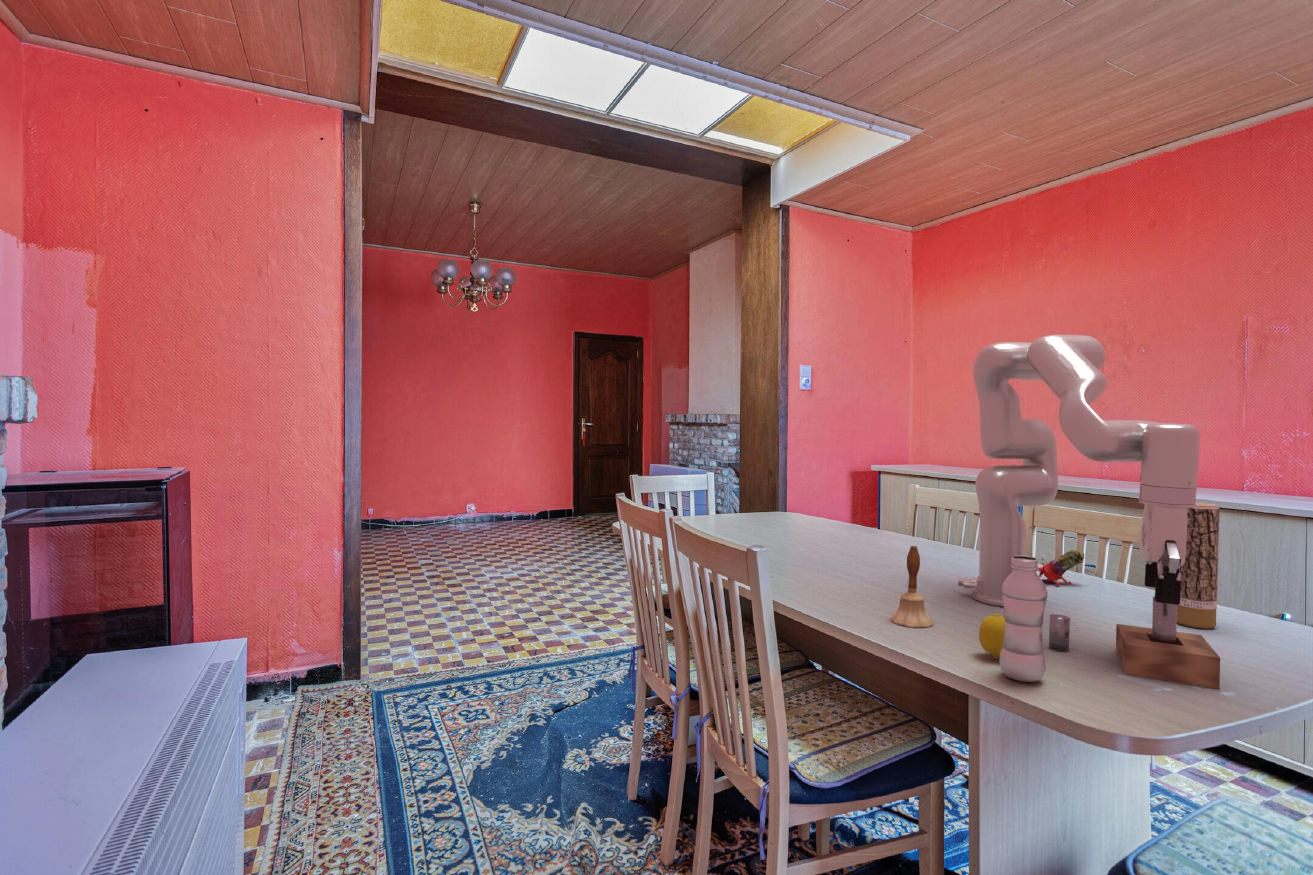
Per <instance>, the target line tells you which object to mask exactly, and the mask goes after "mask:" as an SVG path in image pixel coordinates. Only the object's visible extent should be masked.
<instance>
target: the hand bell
mask: <svg viewBox="0 0 1313 875" xmlns="http://www.w3.org/2000/svg"><path fill="white" fill-rule="evenodd" d="M920 556H921V555H920V552H919V550H918V546H916V545H910V548H909V550H908V554H907V557H906V568H907V572H908V582H907V583H908V586H907V592H905V593H903V594H901V595H900V599H899V600H900V601H899V605H898V608H897V610H896V611H895V613H893V614H892V615H891V616H890V621H891V620H892V621H891V622H892V623H893V624H896V625H899V624H900V625H899V626H902V625H904V627H907V628H908V627H909V628H914V627H918V629H920V628H919V627H926V628H929V627H930V628H931V627H933V625H934V622H933V620H932V619H931V618H930V617H929V615H928V613H927V611H926V608H925V603H924V602H925V600H924V597H923V596H922V595H920V594H918V592H917V588H918V586H917V585H918V583H917V582H918V579H917V578H918V573H919V571H920V567H921V557H920Z"/></svg>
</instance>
